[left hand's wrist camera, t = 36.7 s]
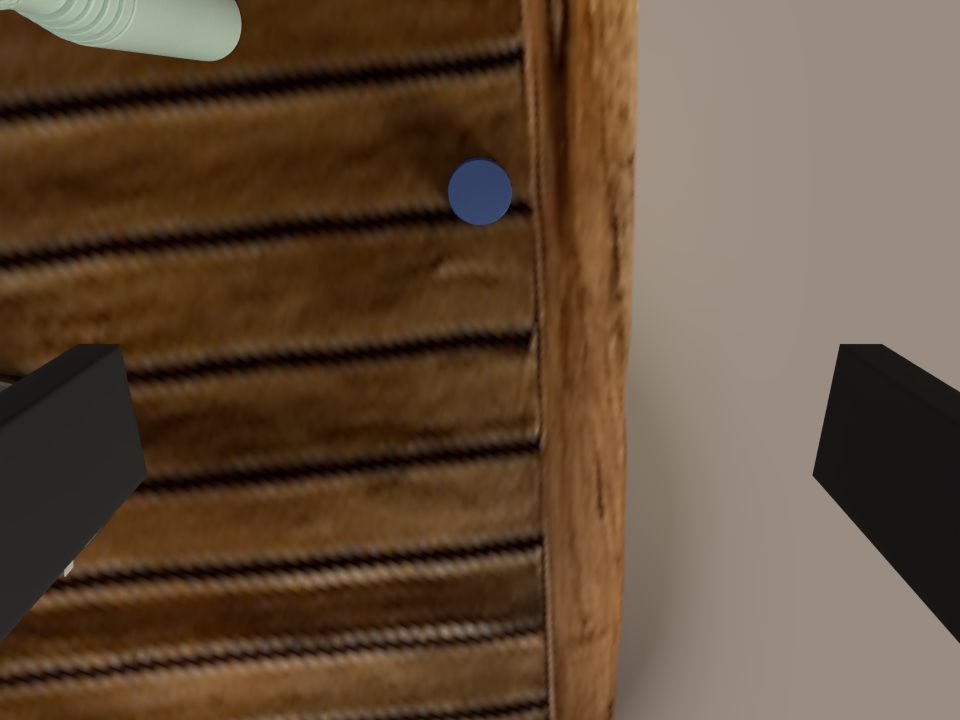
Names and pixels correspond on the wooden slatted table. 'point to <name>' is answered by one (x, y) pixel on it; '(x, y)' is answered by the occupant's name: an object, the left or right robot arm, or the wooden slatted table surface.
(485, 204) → the cap
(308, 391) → the wooden slatted table surface
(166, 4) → the bottle
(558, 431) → the wooden slatted table surface
